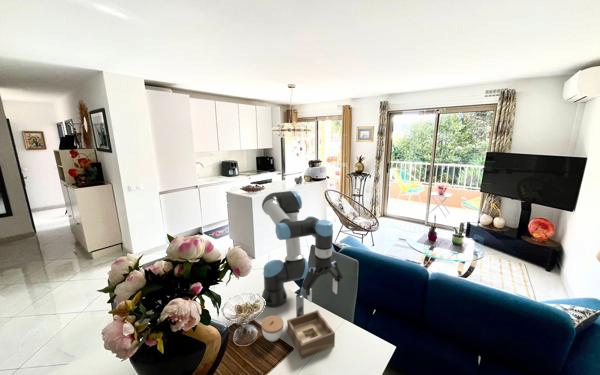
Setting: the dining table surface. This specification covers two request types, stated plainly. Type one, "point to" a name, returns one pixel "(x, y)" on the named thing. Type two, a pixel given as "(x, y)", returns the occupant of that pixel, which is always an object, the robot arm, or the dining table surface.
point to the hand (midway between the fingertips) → (322, 296)
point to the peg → (299, 305)
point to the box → (307, 326)
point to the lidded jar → (272, 328)
